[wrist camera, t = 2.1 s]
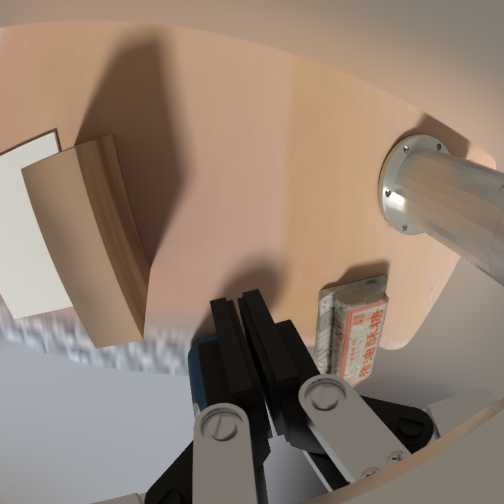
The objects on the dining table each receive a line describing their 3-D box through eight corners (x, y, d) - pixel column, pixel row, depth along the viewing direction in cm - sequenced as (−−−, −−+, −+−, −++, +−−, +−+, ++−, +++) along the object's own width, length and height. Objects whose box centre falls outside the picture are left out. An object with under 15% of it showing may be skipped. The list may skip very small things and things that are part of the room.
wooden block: (112, 133, 24) (74, 147, 15) (150, 268, 31) (143, 339, 21) (73, 146, 24) (20, 168, 14) (115, 277, 30) (96, 348, 21)
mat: (55, 131, 23) (53, 132, 22) (109, 296, 31) (108, 298, 31) (-42, 179, 21) (-44, 180, 20) (15, 317, 29) (14, 319, 29)
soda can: (180, 363, 37) (188, 443, 27) (197, 323, 35) (210, 406, 24) (229, 372, 40) (249, 447, 29) (251, 335, 38) (278, 412, 27)
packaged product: (332, 310, 33) (403, 289, 35) (315, 287, 37) (383, 271, 39) (322, 404, 41) (379, 384, 43) (310, 382, 45) (366, 364, 47)
